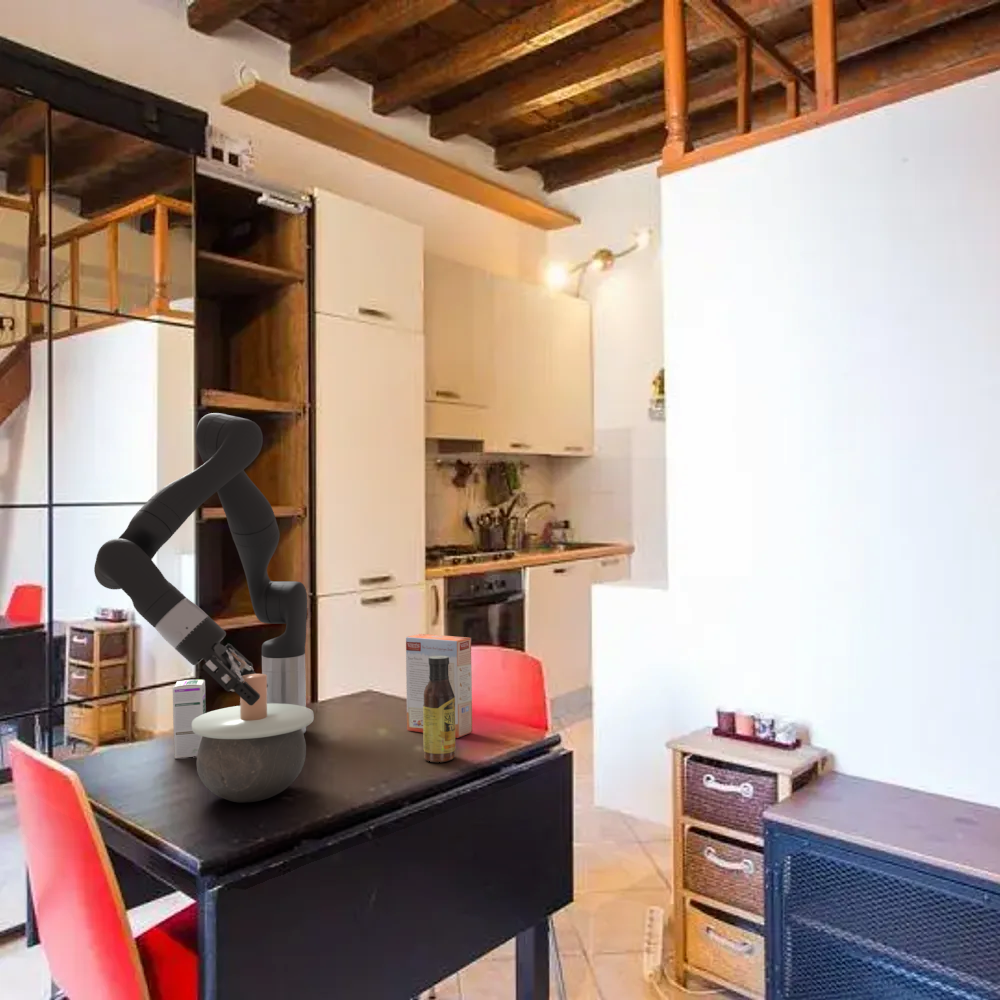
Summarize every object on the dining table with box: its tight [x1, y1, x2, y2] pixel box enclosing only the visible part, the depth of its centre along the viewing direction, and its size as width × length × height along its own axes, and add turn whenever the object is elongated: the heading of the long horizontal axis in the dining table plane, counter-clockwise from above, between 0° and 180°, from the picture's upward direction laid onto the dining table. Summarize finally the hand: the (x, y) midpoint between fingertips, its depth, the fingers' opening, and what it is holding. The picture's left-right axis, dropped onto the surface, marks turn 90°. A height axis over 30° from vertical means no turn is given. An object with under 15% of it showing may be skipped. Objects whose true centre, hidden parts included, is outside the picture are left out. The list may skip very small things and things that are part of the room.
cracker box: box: [405, 633, 473, 739], centre depth 183 cm, size 14×6×21 cm, turn 58°
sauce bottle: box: [422, 656, 456, 763], centre depth 164 cm, size 7×6×20 cm
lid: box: [192, 673, 315, 739], centre depth 144 cm, size 20×20×8 cm
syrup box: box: [171, 679, 207, 759], centre depth 169 cm, size 6×6×14 cm
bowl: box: [196, 729, 307, 804], centre depth 144 cm, size 18×18×13 cm
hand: (260, 695), depth 144 cm, fingers open, 8 cm apart
